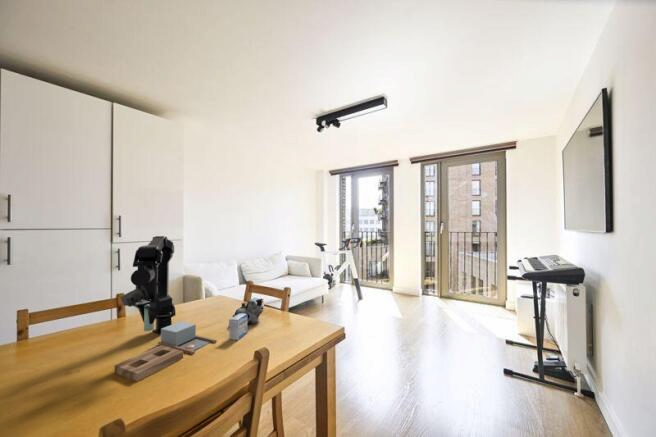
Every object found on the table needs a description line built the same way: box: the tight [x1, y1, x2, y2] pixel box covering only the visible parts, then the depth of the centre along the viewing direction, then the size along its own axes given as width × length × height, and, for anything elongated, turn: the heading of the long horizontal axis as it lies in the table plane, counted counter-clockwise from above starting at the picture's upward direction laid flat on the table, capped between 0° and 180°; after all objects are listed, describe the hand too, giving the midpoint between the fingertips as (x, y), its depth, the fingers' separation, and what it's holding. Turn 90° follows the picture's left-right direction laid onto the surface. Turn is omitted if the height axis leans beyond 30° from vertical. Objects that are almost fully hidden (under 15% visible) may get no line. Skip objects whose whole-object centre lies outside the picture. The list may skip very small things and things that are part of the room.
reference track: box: [157, 334, 217, 355], centre depth 112 cm, size 20×11×1 cm, turn 66°
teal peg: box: [143, 304, 155, 332], centre depth 101 cm, size 3×3×9 cm
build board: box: [113, 345, 184, 382], centre depth 95 cm, size 12×16×2 cm
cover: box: [160, 320, 197, 347], centre depth 114 cm, size 9×9×6 cm
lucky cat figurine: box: [232, 297, 265, 326], centre depth 137 cm, size 15×12×14 cm
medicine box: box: [228, 313, 248, 341], centre depth 119 cm, size 8×4×9 cm, turn 168°
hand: (148, 323), depth 101 cm, fingers closed on teal peg, 3 cm apart
